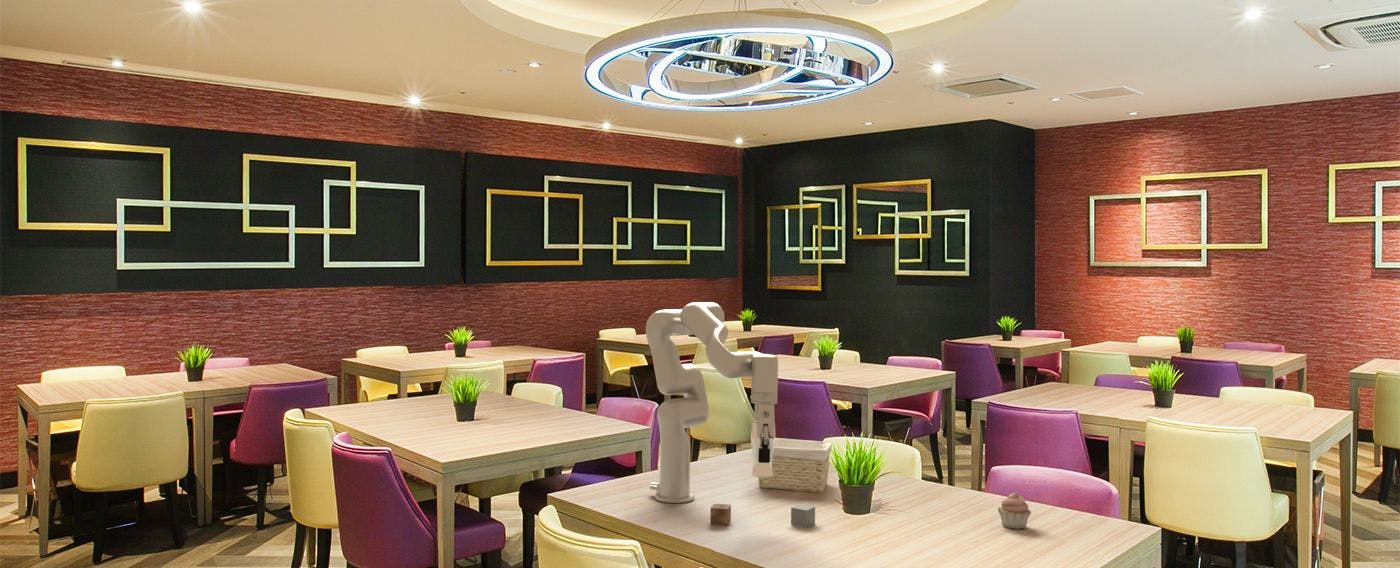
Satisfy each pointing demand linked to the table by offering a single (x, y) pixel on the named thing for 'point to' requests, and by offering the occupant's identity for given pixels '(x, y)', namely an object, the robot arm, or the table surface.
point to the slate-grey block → (802, 515)
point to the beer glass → (758, 468)
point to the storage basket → (798, 465)
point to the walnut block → (720, 514)
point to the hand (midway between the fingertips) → (762, 459)
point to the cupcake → (1014, 512)
